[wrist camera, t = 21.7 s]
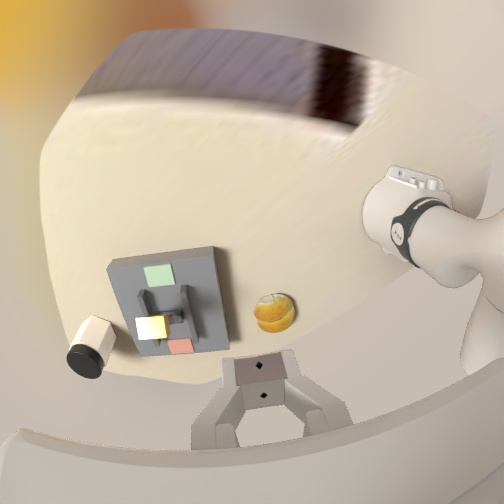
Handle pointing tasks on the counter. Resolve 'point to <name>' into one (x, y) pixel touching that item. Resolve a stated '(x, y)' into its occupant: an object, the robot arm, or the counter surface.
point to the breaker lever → (158, 324)
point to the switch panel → (173, 299)
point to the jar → (91, 347)
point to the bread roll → (274, 313)
